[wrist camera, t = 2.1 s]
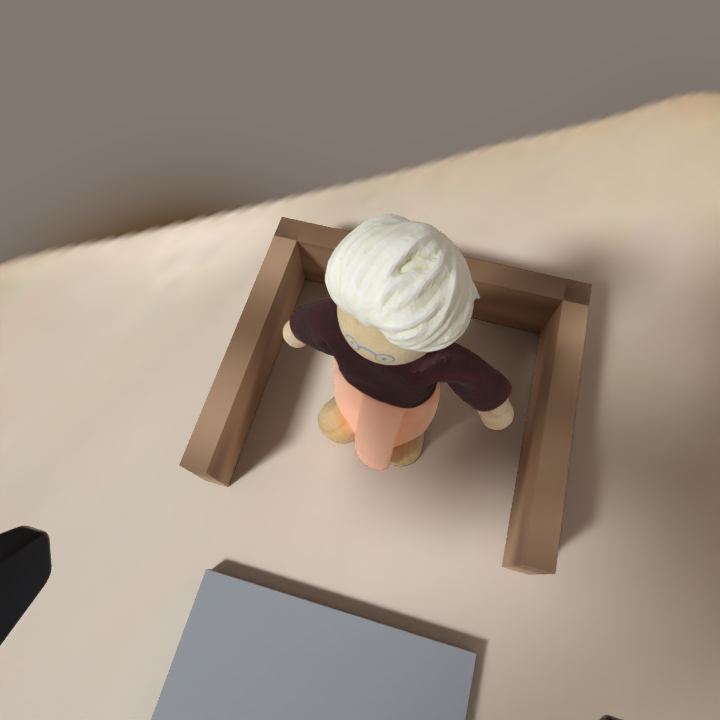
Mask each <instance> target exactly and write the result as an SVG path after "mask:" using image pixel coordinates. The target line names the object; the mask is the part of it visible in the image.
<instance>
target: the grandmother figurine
mask: <svg viewBox="0 0 720 720" xmlns="http://www.w3.org/2000/svg"><path fill="white" fill-rule="evenodd" d="M325 283H326V286H327V289H328V292H329V294H330V296H331V298H332V299H327V300H323V301H319V302H316V303H312V304H308V305H304V306H301V307H299V308H297V309H296V310H295V311H294V312H293V313H292V315H291V316H290V320H289V321H288V322H287V323H286V324H285V326H284V328H283V338H284V339H285V341H286V342H287V343H288V344H289V345H290V346H292V347H295V348H301V347H304V346H306V345H309V346H311V347H312V348H315V349H317V350H319V351H321V352H324V353H326V354H328V355H332V356H334V363H333V370H334V395H335V397H334V398H332V399H331V400H330V401H329V402H328V403H327V404H325V405H324V407H323V408H322V409H321V411H320V413H319V418H318V421H319V426H320V429H321V430H322V432H323V433H324V434H325V435H326V436H327V437H328V438H330V439H331V440H332V441H334V442H337V443H349V442H352V441H354V440H355V450H356V453H357V455H358V457H359V458H360V459H361V461H362V462H363V463H365V464H366V465H367V466H369V467H371V468H374V469H378V470H384V469H386V468H388V466H389V463H391V464H393V465H397V466H405V465H409V464H411V463H413V462H415V461H416V460H417V459H418V457H419V456H420V454H421V452H422V448H423V441H424V434H425V431H426V429H427V427H428V426H429V425H430V423H431V421H432V420H433V418H434V416H435V413H436V409H437V406H438V403H439V398H440V382H447V383H448V384H449V386H450V387H451V388H452V389H453V391H454V392H455V393H456V394H457V395H458V396H459V397H461V399H462V400H463V401H465V402H466V403H468V404H469V405H471V406H472V407H473V408H474V409H476V411H477V412H478V413H479V415H480V418H481V421H482V422H483V423H484V425H485V426H487V427H488V428H490V429H493V430H501V429H504V428H506V427H507V426H509V425H510V424H511V422H512V420H513V417H514V411H513V407H512V405H511V403H510V402H509V395H510V393H511V389H512V388H511V384H510V382H509V381H508V380H507V379H506V377H505V376H504V375H502V374H501V373H500V372H499V371H497V370H495V369H494V368H493V367H491V366H490V365H489V364H488V363H486V362H485V361H484V360H482V359H481V358H480V357H479V356H477V355H476V354H474V353H473V352H471V351H470V350H468V349H466V348H465V347H463V346H461V345H459V344H456V343H454V342H455V341H456V340H457V339H458V338H459V337H460V336H461V335H462V334H463V333H464V332H465V330H466V328H467V327H468V325H469V323H470V320H471V316H472V312H473V306H474V301H475V299H476V298H478V299H480V296H479V294H478V291H477V289H476V287H475V284H474V282H473V281H472V279H471V275H470V271H469V268H468V265H467V262H466V260H465V258H464V256H463V254H462V253H461V252H460V251H459V250H458V249H457V247H456V246H455V245H454V244H453V242H452V241H451V240H450V239H449V238H448V237H447V236H446V235H445V234H443V233H441V232H439V231H438V230H437V229H436V228H435V227H433V226H432V225H429V224H426V223H421V222H415V221H410V220H408V219H406V218H404V217H401V216H398V215H393V214H383V215H379V216H376V217H374V218H372V219H369V220H367V221H365V222H363V223H362V224H360V225H359V226H358V227H357V228H355V229H354V230H353V231H352V232H350V233H349V234H348V235H347V236H346V237H345V238H344V239H343V240H342V241H341V242H340V243H339V245H338V246H337V247H336V248H335V250H334V252H333V253H332V255H331V257H330V259H329V261H328V265H327V269H326V274H325Z"/></svg>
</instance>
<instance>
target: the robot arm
mask: <svg viewBox="0 0 720 720" xmlns="http://www.w3.org/2000/svg"><path fill="white" fill-rule="evenodd" d="M51 567H52V566H51V552H50V539H49V536H48V534H47V533H46V532H45V531H42V530H39V529H36V528H33V527H30V526H20V527H17V528H14V529H11V530H9V531H6V532H4V533H1V534H0V645H1V644H2V643H3V641H4V640H5V638H6V637H7V636H8V634H9V633H10V632H11V630H12V629H13V627H14V626H15V625H16V623H17V622H18V621H19V619H20V618H21V617H22V615H23V614H24V612H25V611H26V610H27V608H28V607H29V606H30V604H31V603H32V602H33V600H34V599H35V597H36V596H37V595H38V593H39V592H40V591H41V589H42V588H43V587H44V585H45V584H46V582H47V580H48V578H49V576H50V573H51ZM600 720H622V719H619V718H616V717H613V716H610V715H605V716H602V717H601V718H600Z"/></svg>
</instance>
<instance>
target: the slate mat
mask: <svg viewBox="0 0 720 720" xmlns="http://www.w3.org/2000/svg"><path fill="white" fill-rule="evenodd" d="M476 655H477V654H476V653H474V652H472V651H469V650H466V649H463V648H460V647H457V646H453V645H450V644H447V643H444V642H441V641H437V640H434V639H431V638H428V637H425V636H421V635H418V634H415V633H412V632H409V631H406V630H402V629H399V628H396V627H393V626H390V625H386V624H383V623H380V622H377V621H374V620H370V619H367V618H364V617H361V616H358V615H355V614H351V613H348V612H345V611H342V610H339V609H335V608H332V607H329V606H326V605H323V604H320V603H316V602H313V601H310V600H307V599H304V598H300V597H297V596H294V595H291V594H288V593H284V592H281V591H278V590H275V589H272V588H269V587H265V586H262V585H259V584H256V583H253V582H249V581H246V580H243V579H240V578H237V577H234V576H230V575H227V574H224V573H221V572H218V571H214V570H211V569H206V571H205V574H204V577H203V580H202V582H201V585H200V588H199V591H198V593H197V596H196V599H195V602H194V604H193V607H192V610H191V612H190V615H189V618H188V621H187V623H186V626H185V629H184V632H183V634H182V637H181V640H180V643H179V645H178V648H177V651H176V654H175V656H174V659H173V662H172V664H171V667H170V670H169V673H168V675H167V678H166V681H165V684H164V686H163V689H162V692H161V695H160V697H159V700H158V703H157V706H156V708H155V711H154V714H153V716H152V719H151V720H465V719H466V713H467V708H468V702H469V696H470V690H471V684H472V678H473V672H474V666H475V661H476Z"/></svg>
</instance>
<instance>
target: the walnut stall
mask: <svg viewBox="0 0 720 720" xmlns="http://www.w3.org/2000/svg"><path fill="white" fill-rule="evenodd" d="M349 233H350V232H349V231H344V230H340V229H335V228H331V227H326V226H321V225H317V224H312V223H308V222H303V221H299V220H294V219H289V218H285V217H282V218H281V220H280V223H279V225H278V228H277V230H276V232H275V235H274V237H273V240H272V242H271V244H270V247H269V249H268V252H267V254H266V257H265V259H264V261H263V264H262V266H261V269H260V271H259V274H258V276H257V278H256V281H255V283H254V286H253V288H252V290H251V293H250V295H249V298H248V300H247V303H246V305H245V307H244V310H243V312H242V315H241V317H240V319H239V322H238V324H237V327H236V329H235V332H234V334H233V336H232V339H231V341H230V344H229V346H228V349H227V351H226V353H225V356H224V358H223V361H222V363H221V365H220V368H219V370H218V373H217V375H216V378H215V380H214V382H213V385H212V387H211V390H210V392H209V394H208V397H207V399H206V402H205V404H204V407H203V409H202V411H201V414H200V416H199V419H198V421H197V424H196V426H195V428H194V431H193V433H192V436H191V438H190V440H189V443H188V445H187V448H186V450H185V453H184V455H183V457H182V460H181V462H180V466H182V467H183V468H185V469H187V470H189V471H190V472H192V473H194V474H195V475H197V476H199V477H200V478H202V479H204V480H206V481H210V482H213V483H217V484H220V485H223V486H227V487H228V486H229V483H230V480H231V478H232V475H233V472H234V470H235V467H236V464H237V461H238V459H239V456H240V453H241V451H242V448H243V445H244V443H245V440H246V437H247V435H248V432H249V429H250V426H251V424H252V421H253V418H254V416H255V413H256V410H257V408H258V405H259V402H260V400H261V397H262V394H263V391H264V389H265V386H266V383H267V381H268V378H269V375H270V373H271V370H272V367H273V365H274V362H275V359H276V356H277V354H278V351H279V348H280V346H281V343H282V340H283V328H284V326H285V324H286V323H287V322H288V321H289V320H290V316H291V315H292V313H293V311H294V308H295V305H296V303H297V300H298V297H299V294H300V292H301V289H302V286H303V284H304V281H305V279H308V280H312V281H316V282H321V283H325V274H326V269H327V265H328V261H329V259H330V257H331V255H332V253H333V252H334V250H335V248H336V247H337V246H338V245H339V243H340V242H341V241H342V240H343V239H344V238H345V237H346V236H347V235H348V234H349ZM464 258H465V260H466V262H467V265H468V268H469V271H470V275H471V279H472V281H473V282H474V284H475V287H476V289H477V291H478V294H479V296H480V299H478V298H476V299H475V301H474V306H473V312H472V316H471V318H475V319H480V320H484V321H488V322H493V323H497V324H501V325H506V326H510V327H514V328H518V329H523V330H527V331H531V332H536V333H540V337H539V344H538V350H537V356H536V362H535V368H534V374H533V380H532V387H531V393H530V399H529V405H528V411H527V417H526V423H525V430H524V436H523V442H522V448H521V454H520V460H519V466H518V473H517V479H516V485H515V491H514V497H513V503H512V509H511V516H510V522H509V528H508V534H507V540H506V546H505V552H504V559H503V565H502V567H505V568H509V569H512V570H515V571H519V572H522V573H526V574H555V572H556V564H557V556H558V548H559V540H560V533H561V525H562V517H563V509H564V501H565V493H566V485H567V477H568V469H569V461H570V453H571V445H572V437H573V429H574V421H575V413H576V405H577V397H578V389H579V381H580V374H581V366H582V358H583V350H584V342H585V334H586V326H587V318H588V310H589V302H590V294H591V286H592V284H587V283H583V282H578V281H573V280H569V279H564V278H560V277H555V276H550V275H546V274H541V273H537V272H532V271H528V270H523V269H518V268H514V267H509V266H505V265H500V264H496V263H491V262H486V261H482V260H477V259H473V258H468V257H464ZM325 284H326V283H325Z"/></svg>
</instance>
